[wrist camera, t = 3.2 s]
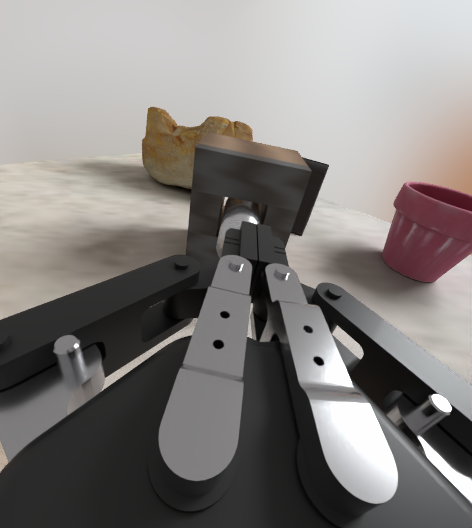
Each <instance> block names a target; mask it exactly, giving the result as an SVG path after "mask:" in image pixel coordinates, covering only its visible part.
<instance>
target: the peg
mask: <svg viewBox="0 0 472 528" xmlns="http://www.w3.org/2000/svg"><path fill="white" fill-rule="evenodd" d="M242 221H247V222H251V223H256V224H260V213H259V203H254V202H249V201H244V200H239V199H234V198H228V199H227V201H226V204H225V209H224V213H223V218H222V222H221V227H220V231H219V236H218V240H217V245H216V250H217V254H218V256H219V257H220V259H221V253H222V248H223V243H224V238H225V233H226V231H227V230H228V229H230V228H234V229H239V230H240V227H241V223H242Z"/></svg>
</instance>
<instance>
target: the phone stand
mask: <svg viewBox="0 0 472 528" xmlns="http://www.w3.org/2000/svg"><path fill="white" fill-rule="evenodd" d="M303 160H304V161H305V162H306V164H307V165H308V167H309V168H310V169H311V171H312V173H311V176H310V179H309V181H308V184H307V187H306V190H305V193H304V196H303V199H302V202H301V204H300V207H299V210H298V213H297V216H296V219H295V222H294V224H293V227H292V230H291V232H293V233H295V234H298V235H301V236H302V234H303V232H304V229H305V227H306V225H307V222H308V220H309V217H310V215H311V212H312V209H313V207H314V204H315V201H316V199H317V196H318V193H319V191H320V188H321V185H322V183H323V180H324V177H325V175H326V172H327V169H328V167H329V165H327V164H324V163H320V162H317V161H313V160H309V159H306V158H303Z"/></svg>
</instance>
